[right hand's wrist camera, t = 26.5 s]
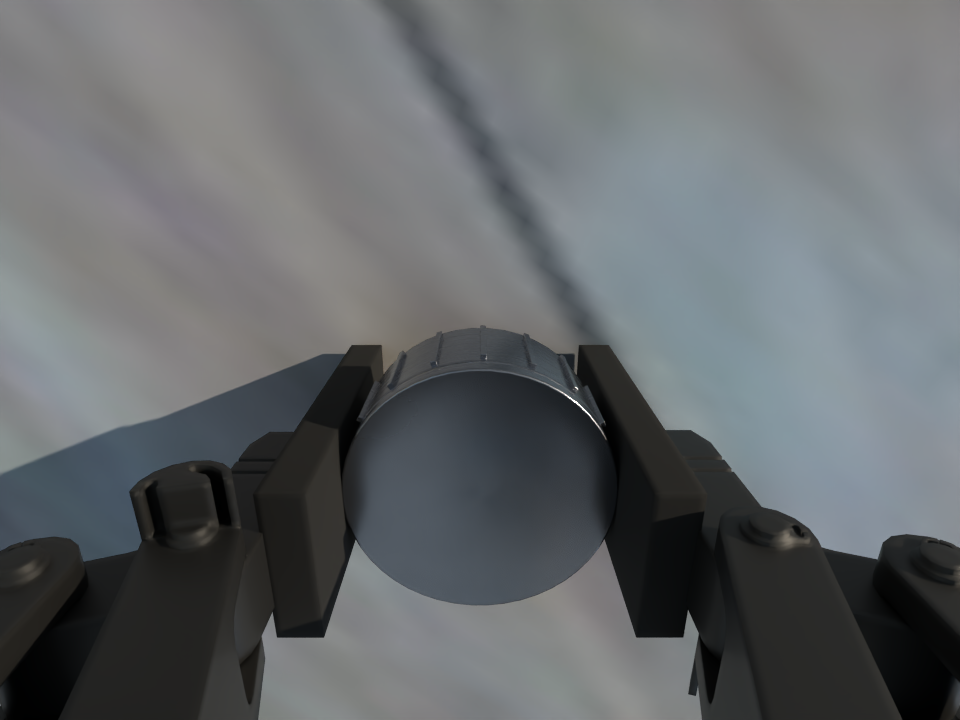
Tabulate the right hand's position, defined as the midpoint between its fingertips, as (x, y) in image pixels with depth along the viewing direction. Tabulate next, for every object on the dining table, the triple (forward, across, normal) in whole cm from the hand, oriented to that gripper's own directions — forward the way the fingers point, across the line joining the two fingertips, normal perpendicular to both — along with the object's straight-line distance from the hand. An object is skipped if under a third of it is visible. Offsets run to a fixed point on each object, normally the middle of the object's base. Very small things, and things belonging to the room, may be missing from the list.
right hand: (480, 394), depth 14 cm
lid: (-4, 0, 0) cm, 4 cm away
